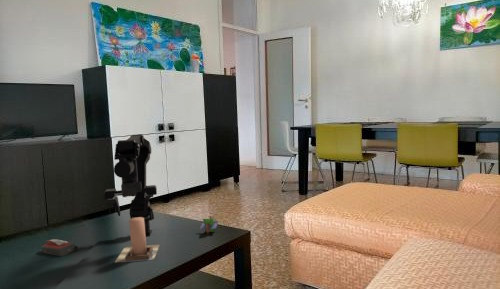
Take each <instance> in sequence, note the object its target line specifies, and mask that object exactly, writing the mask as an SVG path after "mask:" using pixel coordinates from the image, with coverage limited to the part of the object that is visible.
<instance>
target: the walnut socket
mask: <svg viewBox="0 0 500 289" xmlns="http://www.w3.org/2000/svg"><path fill="white" fill-rule="evenodd" d="M146 248H147V252H148V254H147V255H136V256H131V254H132V249H130V250H129V252H128V254H127V255H126V257H125V259H126V261H132V260H144V259H149V258H150V256H151V254H152V252H153V247H146Z"/></svg>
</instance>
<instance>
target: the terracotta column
mask: <svg viewBox="0 0 500 289" xmlns="http://www.w3.org/2000/svg"><path fill="white" fill-rule="evenodd" d="M128 223H129V224H128V225H129V232H130V247H131V248H132V256H136V255H147V248H146V246H147V236H146V235H145V223H144V218H143V217H136V218H132V219H131V218H129V220H128Z"/></svg>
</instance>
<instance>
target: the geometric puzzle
mask: <svg viewBox="0 0 500 289" xmlns="http://www.w3.org/2000/svg"><path fill="white" fill-rule="evenodd" d="M218 224H219V222H218V220H217V219H216V218H215V217H212V216H210V215H209V218H202V222H201V225H200V228H199V229H200V230H204V231H205V232H204V233H206V234H210V233H216V229H217V226H218Z"/></svg>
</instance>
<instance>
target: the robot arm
mask: <svg viewBox="0 0 500 289" xmlns="http://www.w3.org/2000/svg"><path fill="white" fill-rule="evenodd" d="M151 146H152V145H151V143H150V141H149V140H147V139H146V138H145V137H144V134H132V135H130V137H129V138H127V139H124V140H123V139H122V140H117V143H116V144H115V150H114V151H115V152H114V160H115V161H116V160H118V162H116V163H115V165H114V167H113V173H114V175H115V176H117V177H118V178H120V179H121V186H120V187H121V190H117V189H116V188H107V189H106V190H105V191H104V192H103V193H102V194H103V200H107V201H108V202H111V203H112V205H113V207H114V209H115V210H116V213H117V216H118V217H121V209H120V203H119V197H120V196H121V197H122V198H127V197H133V199H131V201H130V208H129V216H130V217H129V219H132V218H136V217H143V218H144V223H145V235H146V237H149V236H151V234H152V233H153V229H151V225H150V224H151V222H150V221H153V220H155V214H154V210H153V208H152V206H151V203H150V199H151V198H153V197H154V196H156V195H157V193H158V191H157V186H156V184H154V185H153V184H152V185H151V184H150V185H147V164H148V162H149V161H150V160H151V155H152V147H151ZM118 196H119V197H118Z"/></svg>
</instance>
